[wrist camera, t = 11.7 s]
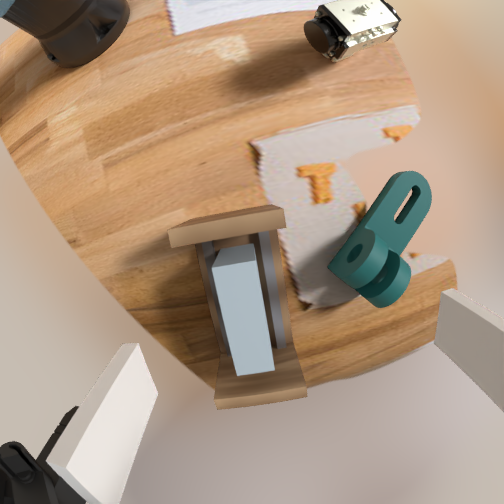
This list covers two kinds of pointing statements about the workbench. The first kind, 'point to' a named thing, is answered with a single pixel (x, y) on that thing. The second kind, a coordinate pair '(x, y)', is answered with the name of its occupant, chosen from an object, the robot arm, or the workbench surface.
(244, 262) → the door panel
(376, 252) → the bracket
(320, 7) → the pneumatic valve
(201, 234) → the track
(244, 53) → the workbench surface
